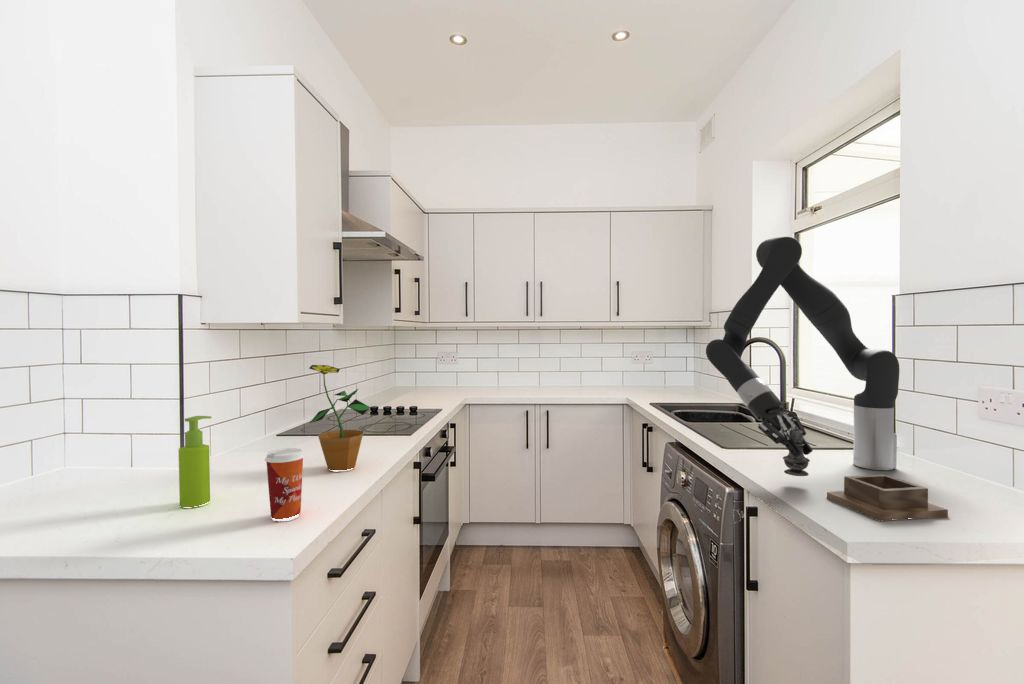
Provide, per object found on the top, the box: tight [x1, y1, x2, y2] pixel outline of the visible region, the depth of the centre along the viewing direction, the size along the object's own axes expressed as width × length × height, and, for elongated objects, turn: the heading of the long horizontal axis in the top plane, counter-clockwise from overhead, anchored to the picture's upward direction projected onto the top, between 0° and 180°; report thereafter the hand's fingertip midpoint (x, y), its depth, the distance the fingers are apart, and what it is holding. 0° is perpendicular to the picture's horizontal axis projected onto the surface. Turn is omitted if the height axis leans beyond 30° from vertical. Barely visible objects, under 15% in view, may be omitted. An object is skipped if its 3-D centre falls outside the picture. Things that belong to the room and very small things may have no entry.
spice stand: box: [826, 473, 949, 522], centre depth 109 cm, size 16×14×6 cm
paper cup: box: [264, 447, 305, 519], centre depth 106 cm, size 8×8×14 cm
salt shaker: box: [782, 426, 811, 477], centre depth 124 cm, size 6×6×12 cm
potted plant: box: [308, 364, 371, 470], centre depth 142 cm, size 18×19×30 cm
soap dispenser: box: [178, 415, 212, 507], centre depth 114 cm, size 6×7×20 cm
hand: (804, 453), depth 122 cm, fingers closed on salt shaker, 3 cm apart
